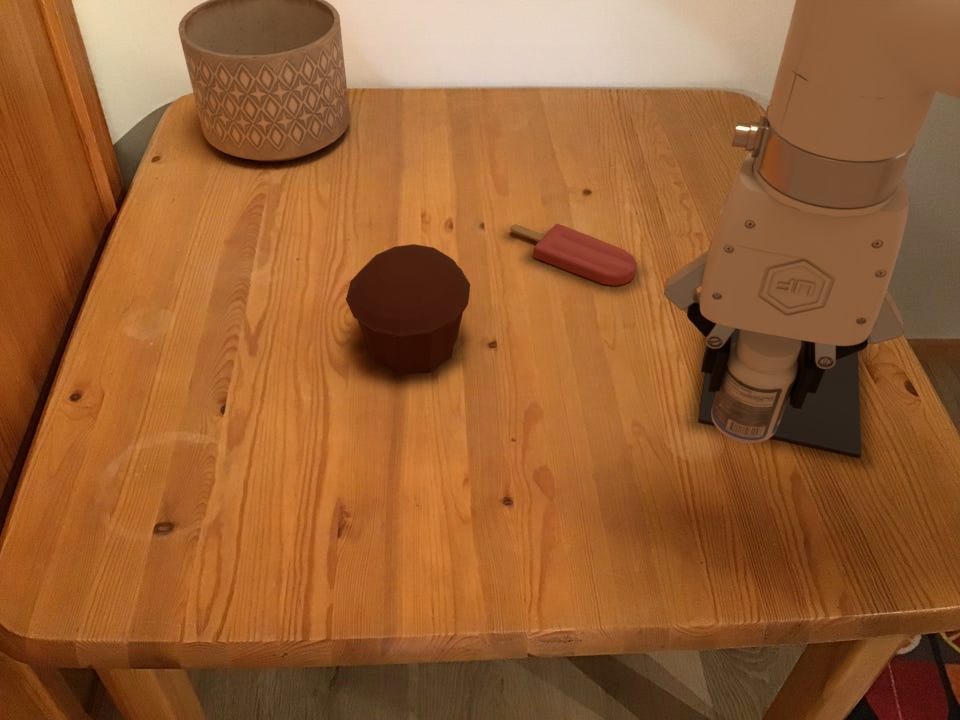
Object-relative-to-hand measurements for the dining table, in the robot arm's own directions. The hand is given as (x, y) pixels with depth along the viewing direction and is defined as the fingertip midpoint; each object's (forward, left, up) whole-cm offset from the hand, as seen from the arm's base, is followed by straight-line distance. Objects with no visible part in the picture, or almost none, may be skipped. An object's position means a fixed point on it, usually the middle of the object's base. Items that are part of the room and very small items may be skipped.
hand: (755, 384), depth 58 cm
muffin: (+30, -12, -16) cm, 36 cm away
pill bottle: (0, 0, -4) cm, 4 cm away
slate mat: (-5, -17, -15) cm, 23 cm away
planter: (+59, -44, -16) cm, 75 cm away
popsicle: (+18, -30, -16) cm, 38 cm away
